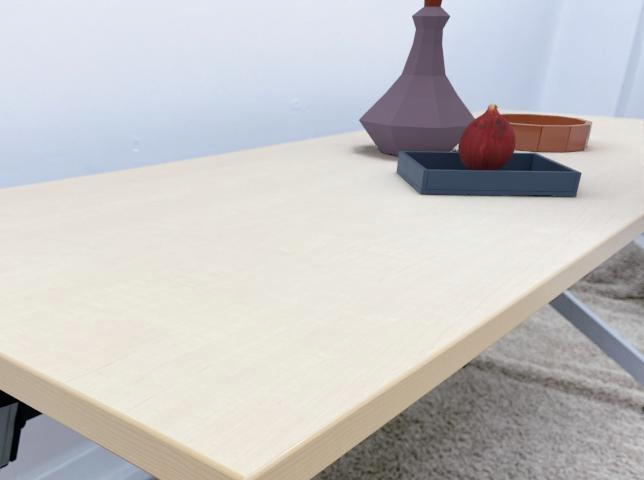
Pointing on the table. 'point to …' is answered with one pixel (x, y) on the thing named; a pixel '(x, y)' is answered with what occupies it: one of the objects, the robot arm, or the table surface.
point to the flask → (420, 96)
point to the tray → (486, 175)
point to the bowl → (549, 132)
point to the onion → (487, 141)
